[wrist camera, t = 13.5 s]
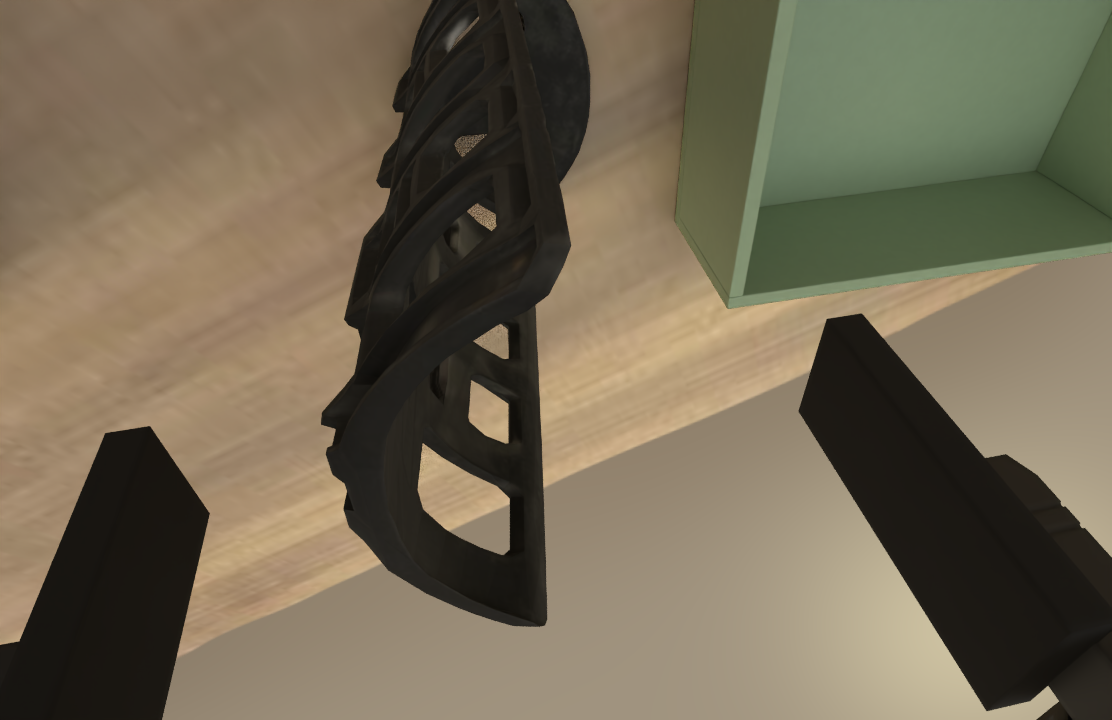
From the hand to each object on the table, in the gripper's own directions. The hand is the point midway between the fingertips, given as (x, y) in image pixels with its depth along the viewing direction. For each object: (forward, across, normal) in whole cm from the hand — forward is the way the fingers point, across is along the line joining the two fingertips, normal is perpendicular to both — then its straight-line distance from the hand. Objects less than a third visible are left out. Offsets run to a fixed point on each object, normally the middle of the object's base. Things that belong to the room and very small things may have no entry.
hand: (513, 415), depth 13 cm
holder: (+18, +1, 0) cm, 18 cm away
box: (+18, +19, 0) cm, 26 cm away
